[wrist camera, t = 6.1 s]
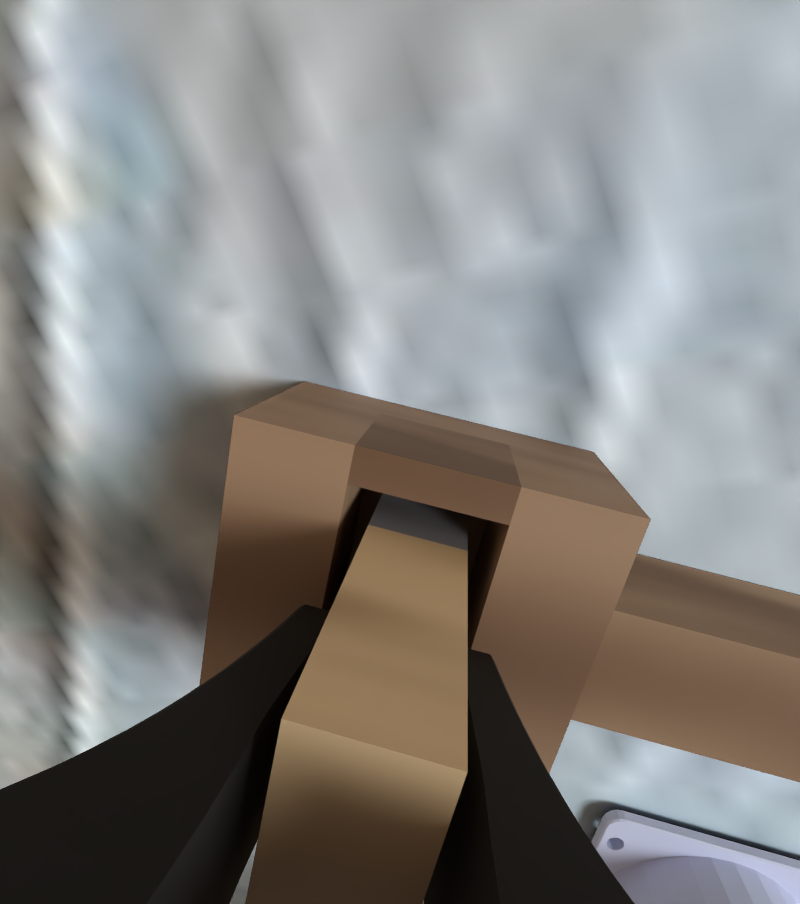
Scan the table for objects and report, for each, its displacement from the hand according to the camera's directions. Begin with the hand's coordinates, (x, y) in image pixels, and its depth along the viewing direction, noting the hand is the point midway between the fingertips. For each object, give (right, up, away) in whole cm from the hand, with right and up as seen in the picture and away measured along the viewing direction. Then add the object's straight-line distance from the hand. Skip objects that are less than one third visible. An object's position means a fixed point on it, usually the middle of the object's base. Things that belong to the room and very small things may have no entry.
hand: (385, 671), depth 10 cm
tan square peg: (+1, +1, +4) cm, 4 cm away
